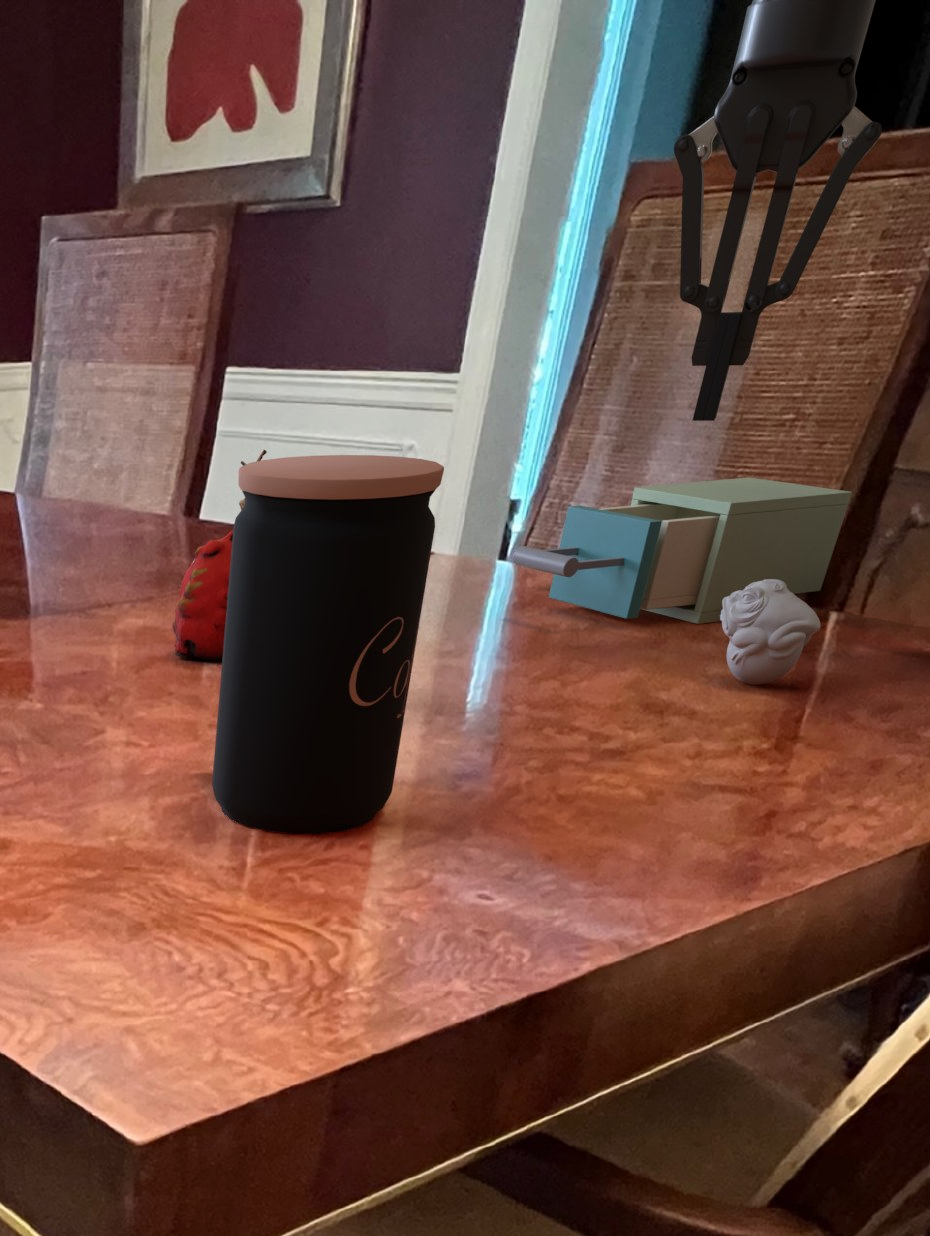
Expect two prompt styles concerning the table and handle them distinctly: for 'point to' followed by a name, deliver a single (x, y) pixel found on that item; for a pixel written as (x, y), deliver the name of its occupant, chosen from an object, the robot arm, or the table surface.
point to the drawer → (627, 557)
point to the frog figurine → (765, 630)
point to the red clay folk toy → (205, 600)
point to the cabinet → (756, 536)
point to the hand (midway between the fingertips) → (704, 418)
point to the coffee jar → (320, 638)
